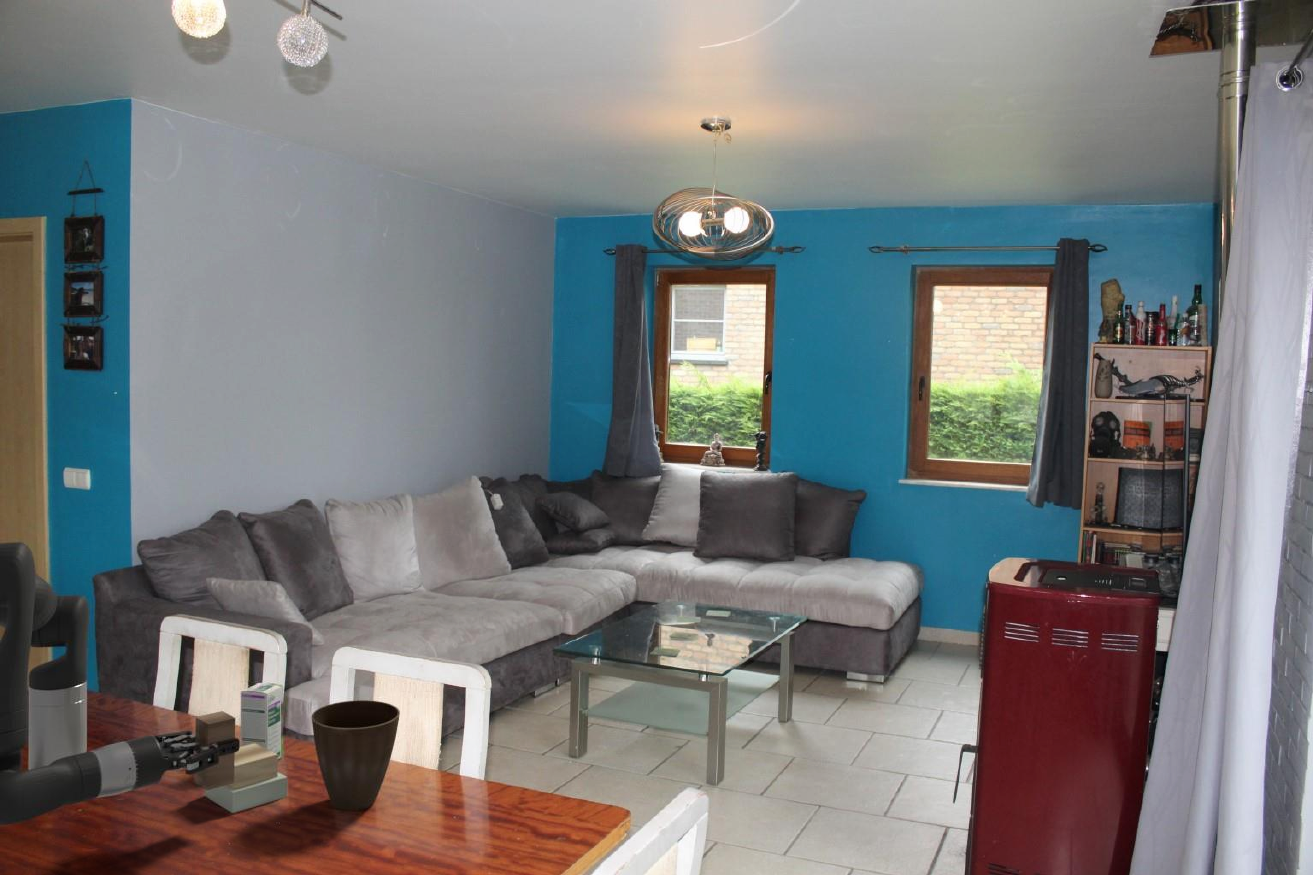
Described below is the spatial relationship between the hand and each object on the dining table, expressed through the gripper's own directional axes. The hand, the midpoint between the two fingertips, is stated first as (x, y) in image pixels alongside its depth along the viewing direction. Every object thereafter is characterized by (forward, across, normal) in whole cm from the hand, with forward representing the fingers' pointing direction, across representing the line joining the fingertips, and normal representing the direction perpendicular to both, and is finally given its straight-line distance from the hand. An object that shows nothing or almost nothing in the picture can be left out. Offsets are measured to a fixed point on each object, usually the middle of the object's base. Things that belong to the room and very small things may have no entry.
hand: (230, 739), depth 172 cm
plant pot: (+19, -8, +14) cm, 25 cm away
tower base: (+7, +8, +15) cm, 18 cm away
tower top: (+7, +8, +11) cm, 15 cm away
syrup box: (+17, +22, +15) cm, 31 cm away
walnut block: (-3, 0, +7) cm, 7 cm away
